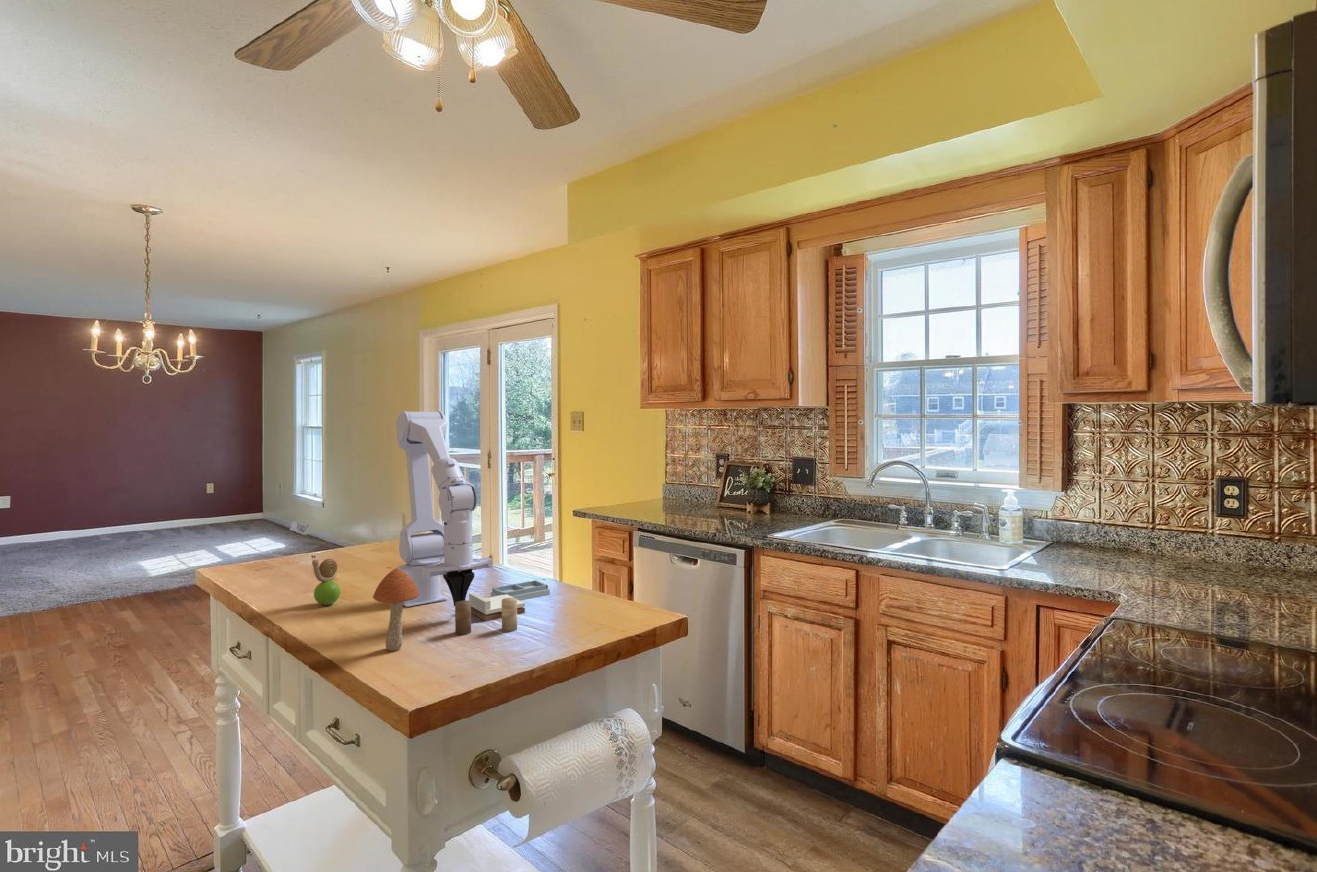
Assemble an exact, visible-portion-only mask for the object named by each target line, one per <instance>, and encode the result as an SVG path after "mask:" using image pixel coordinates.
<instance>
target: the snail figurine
mask: <svg viewBox="0 0 1317 872" xmlns="http://www.w3.org/2000/svg"><path fill="white" fill-rule="evenodd" d="M316 558H317V555H313V554H312V555H311V560H312V562H311V565H312V567H313V573H314V577H315V578H316V580H317V581H319V583H318V584H317V586H315V588H314V591H313V597H314V600H315V601H316V602H317V603H318V604H320V605H322V606H330V605H332V604H334V603H336V602H337V601H338V599H339V598H340V596H341V591H342V590H341V587H340V585H339V584H338V583H337V582H336V581H334V579H335V578H336V576H337V572H338V563H337V562H336V561H335V560H334V559H333V558H327V559H324V560H323V561H322V562H321V563H319V560H318V559H316ZM313 559H314V560H313Z"/></svg>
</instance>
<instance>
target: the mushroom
mask: <svg viewBox="0 0 1317 872" xmlns="http://www.w3.org/2000/svg"><path fill="white" fill-rule="evenodd" d="M418 596H419V591H418V589H417V586H416V584H415V583H414V581H413V580H412V579H411V577H410V576H409V575H408V574H406V573H405V572H404V571H402V570H400V569H398V567H395V568H394V569H393V570H390V572H388V573H387V574H386V575H385V576H384V577H383V579H382V580H381V581H380V582H379V583H378V586H377V587H376V589H375V591H374V594H373V595H372V598H373V600H374V601H376V602H380V603H385V604H386V603H388V604H389V603H390V612H389V613H390V614H389V624H388V628H387V632H386V637H385V648H386V650H387V651H390V652H391V651H392V652H394V651H395V652H396V651H399V650H401V648H402V645H403V626H402V618H403V611H404V610H403V608H404V605H403V602H404V601H409V600H413V599H415V598H417V597H418Z"/></svg>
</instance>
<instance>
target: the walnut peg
mask: <svg viewBox="0 0 1317 872" xmlns="http://www.w3.org/2000/svg"><path fill="white" fill-rule="evenodd" d="M454 617H455V619H454V626H455V627H454V629H455V631H454V632H455V633H454V634H455V635H456V636H457V635H458V636H465V635H466V636H467V635H470V634H471V633H472V613H471V601H469V600H466V599H465V600H463V601H458V602H456V603H455V606H454Z"/></svg>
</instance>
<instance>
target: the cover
mask: <svg viewBox="0 0 1317 872" xmlns="http://www.w3.org/2000/svg"><path fill="white" fill-rule="evenodd" d="M505 598H513V597H511V596H509V595H507V594H505V595H500V596H494V597H491V596H490V597H485V596H482V595H480V594H478V593H477V592H471V593H468V601H471V607H473V608H475V609H477V610H479V611H480V612H482V613H484V614H491V613H496V612H501V611H502V599H505ZM525 604H526V602H524V601H523V600H518V599H517V608H521V607H523V608H525V607H526V605H525Z"/></svg>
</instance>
